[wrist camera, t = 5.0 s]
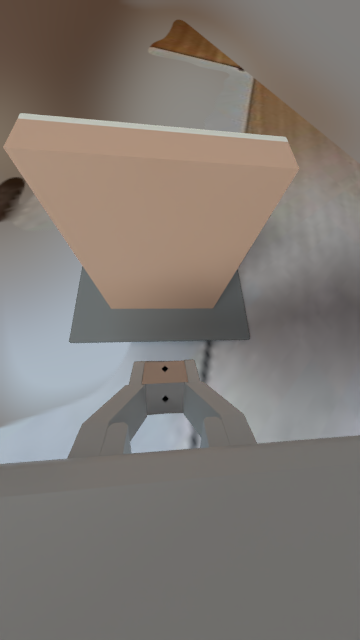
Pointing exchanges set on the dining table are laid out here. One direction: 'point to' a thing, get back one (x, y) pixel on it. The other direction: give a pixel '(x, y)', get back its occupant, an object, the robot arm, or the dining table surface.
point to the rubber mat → (157, 319)
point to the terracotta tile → (153, 202)
